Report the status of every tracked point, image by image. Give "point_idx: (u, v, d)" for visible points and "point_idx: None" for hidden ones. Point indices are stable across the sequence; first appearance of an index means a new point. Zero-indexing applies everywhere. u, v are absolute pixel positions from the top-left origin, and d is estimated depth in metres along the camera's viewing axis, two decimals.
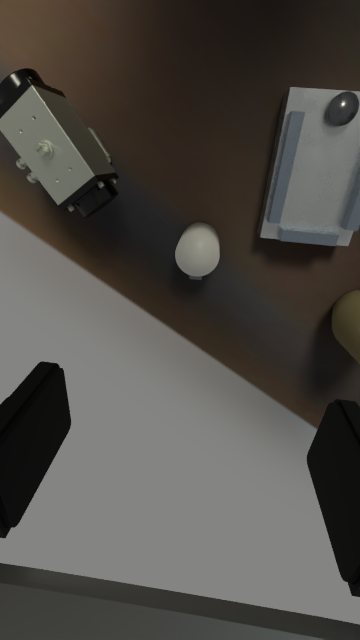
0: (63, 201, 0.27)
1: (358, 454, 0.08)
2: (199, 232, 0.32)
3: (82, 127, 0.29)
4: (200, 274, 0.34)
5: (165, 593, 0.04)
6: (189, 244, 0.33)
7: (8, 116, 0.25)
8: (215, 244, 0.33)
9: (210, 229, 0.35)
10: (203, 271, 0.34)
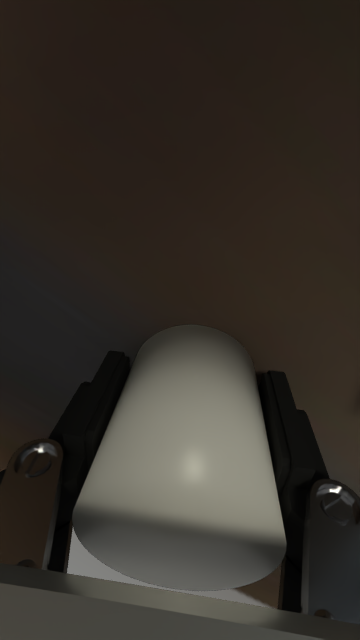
0: None
1: (273, 413, 0.09)
2: (184, 461, 0.06)
3: None
4: (192, 586, 0.08)
5: (165, 593, 0.04)
6: (134, 505, 0.06)
7: None
8: (269, 519, 0.06)
9: (232, 374, 0.09)
10: (205, 581, 0.08)
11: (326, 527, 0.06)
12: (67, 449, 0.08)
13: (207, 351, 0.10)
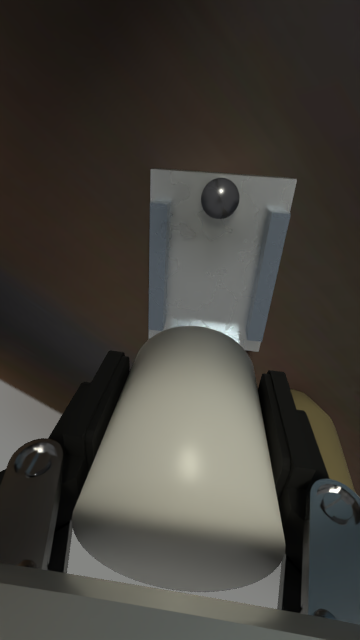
0: None
1: (273, 413, 0.09)
2: (184, 463, 0.06)
3: None
4: (192, 587, 0.08)
5: (165, 593, 0.04)
6: (133, 507, 0.07)
7: None
8: (268, 520, 0.06)
9: (232, 375, 0.09)
10: (205, 583, 0.08)
11: (326, 527, 0.06)
12: (67, 449, 0.08)
13: (207, 352, 0.10)
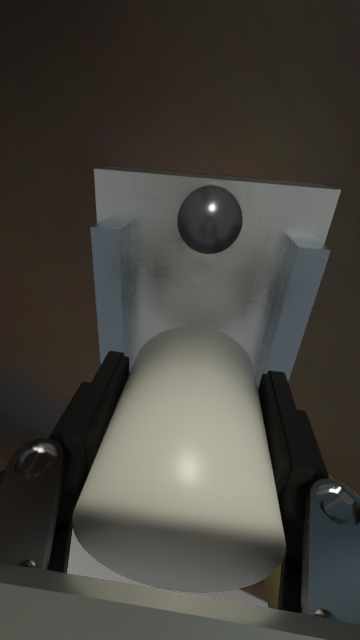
0: None
1: (273, 413, 0.09)
2: (184, 464, 0.06)
3: None
4: (192, 588, 0.08)
5: (165, 593, 0.04)
6: (134, 508, 0.06)
7: None
8: (268, 521, 0.06)
9: (232, 376, 0.09)
10: (205, 583, 0.08)
11: (326, 527, 0.06)
12: (67, 449, 0.08)
13: (207, 353, 0.10)
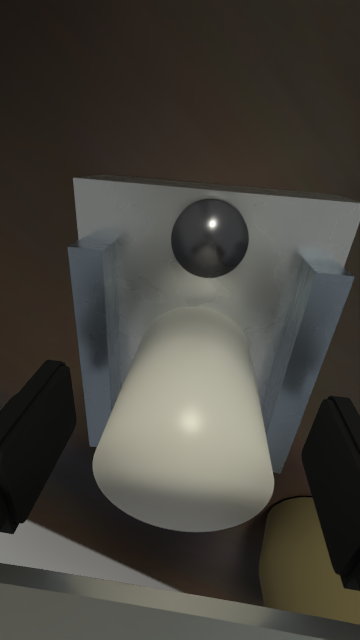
0: None
1: (350, 449, 0.08)
2: (188, 408, 0.07)
3: None
4: (194, 528, 0.09)
5: (165, 593, 0.04)
6: (146, 448, 0.08)
7: None
8: (259, 457, 0.07)
9: (229, 347, 0.10)
10: (206, 522, 0.09)
11: None
12: None
13: (207, 328, 0.11)
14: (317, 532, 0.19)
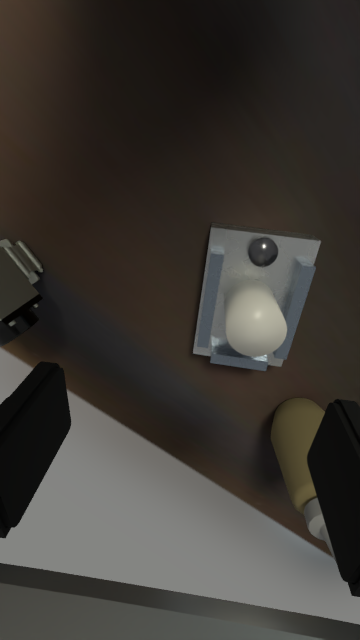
0: None
1: (358, 454, 0.08)
2: (262, 303, 0.24)
3: (0, 257, 0.28)
4: (257, 354, 0.26)
5: (165, 593, 0.04)
6: (247, 317, 0.25)
7: None
8: (282, 319, 0.24)
9: (269, 293, 0.27)
10: (261, 351, 0.26)
11: None
12: None
13: (260, 286, 0.28)
14: (303, 408, 0.36)
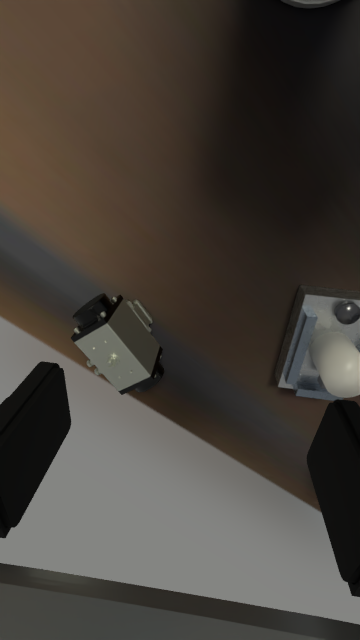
0: (123, 389, 0.34)
1: (358, 454, 0.08)
2: (356, 360, 0.31)
3: (136, 321, 0.35)
4: (347, 396, 0.33)
5: (165, 593, 0.04)
6: (343, 370, 0.32)
7: (85, 339, 0.31)
8: None
9: (353, 345, 0.34)
10: (351, 393, 0.33)
11: None
12: None
13: (344, 340, 0.35)
14: None
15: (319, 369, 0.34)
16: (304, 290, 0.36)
